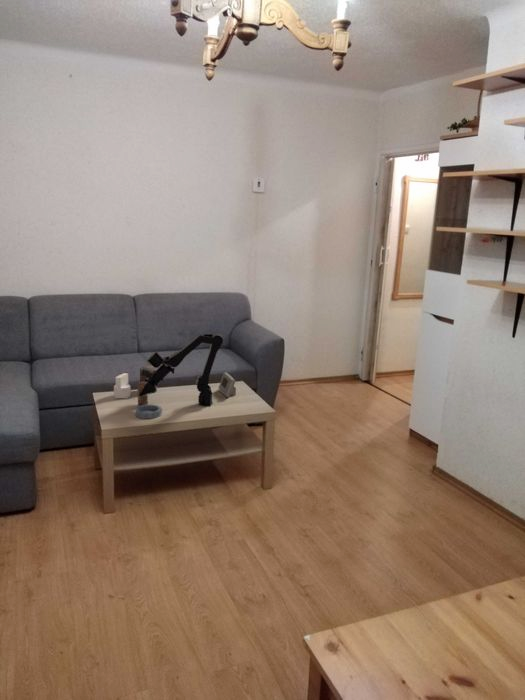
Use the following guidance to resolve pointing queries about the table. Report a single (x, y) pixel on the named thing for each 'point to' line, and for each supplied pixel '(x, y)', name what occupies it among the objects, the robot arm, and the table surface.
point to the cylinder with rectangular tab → (122, 387)
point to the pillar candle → (142, 378)
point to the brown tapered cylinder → (144, 398)
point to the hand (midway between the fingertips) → (139, 393)
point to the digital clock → (227, 385)
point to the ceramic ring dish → (148, 411)
